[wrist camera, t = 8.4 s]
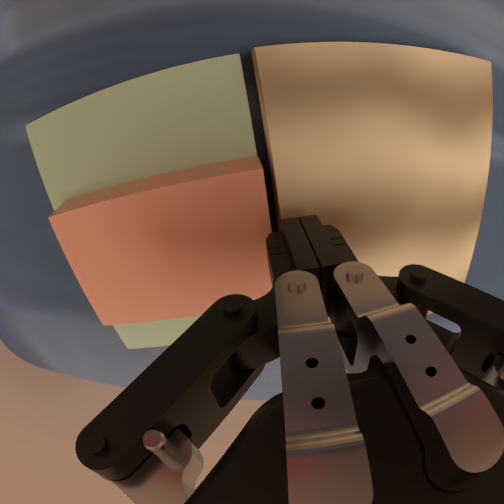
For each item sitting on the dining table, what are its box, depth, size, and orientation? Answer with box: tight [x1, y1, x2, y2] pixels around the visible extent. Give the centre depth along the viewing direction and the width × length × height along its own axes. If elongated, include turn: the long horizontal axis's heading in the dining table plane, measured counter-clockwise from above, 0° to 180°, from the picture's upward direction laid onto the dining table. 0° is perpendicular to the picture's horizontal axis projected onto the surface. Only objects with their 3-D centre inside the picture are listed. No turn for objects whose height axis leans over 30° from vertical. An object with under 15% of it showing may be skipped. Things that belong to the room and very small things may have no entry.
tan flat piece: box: [251, 42, 493, 323], centre depth 14 cm, size 16×12×2 cm
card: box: [48, 156, 272, 326], centre depth 14 cm, size 7×10×2 cm
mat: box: [25, 53, 257, 349], centre depth 15 cm, size 16×11×1 cm
